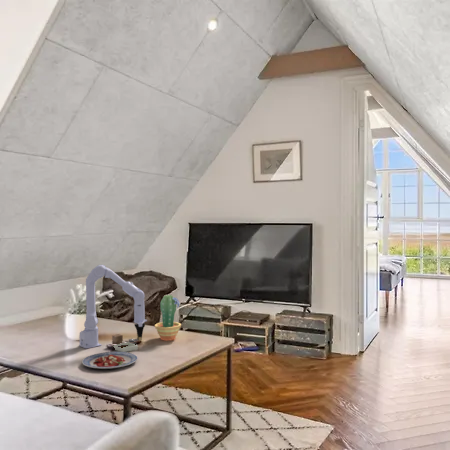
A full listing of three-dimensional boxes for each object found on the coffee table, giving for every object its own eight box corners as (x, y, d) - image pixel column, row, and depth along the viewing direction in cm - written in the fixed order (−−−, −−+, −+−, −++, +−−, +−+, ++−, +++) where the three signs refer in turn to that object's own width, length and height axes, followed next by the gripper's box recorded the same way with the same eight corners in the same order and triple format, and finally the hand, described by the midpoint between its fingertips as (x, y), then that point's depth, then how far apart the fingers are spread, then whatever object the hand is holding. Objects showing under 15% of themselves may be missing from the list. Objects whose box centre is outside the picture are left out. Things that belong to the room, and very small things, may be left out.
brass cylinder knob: (130, 342, 259) (130, 335, 259) (127, 341, 261) (127, 334, 261) (142, 340, 264) (142, 332, 264) (139, 339, 266) (139, 331, 266)
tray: (122, 353, 244) (122, 348, 244) (113, 349, 251) (113, 345, 250) (138, 349, 250) (138, 345, 250) (128, 346, 257) (128, 342, 257)
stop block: (116, 347, 254) (116, 336, 254) (112, 346, 257) (112, 335, 257) (122, 346, 257) (122, 335, 257) (118, 344, 260) (118, 334, 260)
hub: (130, 346, 257) (130, 343, 257) (125, 344, 261) (125, 342, 261) (137, 344, 261) (137, 342, 261) (132, 342, 265) (132, 340, 265)
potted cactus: (168, 343, 263) (168, 298, 262) (148, 339, 272) (148, 295, 271) (187, 337, 275) (186, 294, 274) (167, 333, 284) (167, 292, 284)
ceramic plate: (72, 363, 227) (72, 357, 227) (119, 352, 245) (119, 347, 245) (99, 376, 209) (99, 369, 209) (148, 363, 227) (148, 357, 227)
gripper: (147, 314, 256) (148, 339, 256) (145, 309, 270) (146, 333, 270) (134, 315, 254) (135, 340, 255) (133, 310, 269) (133, 334, 269)
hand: (139, 336), depth 262 cm, fingers closed
